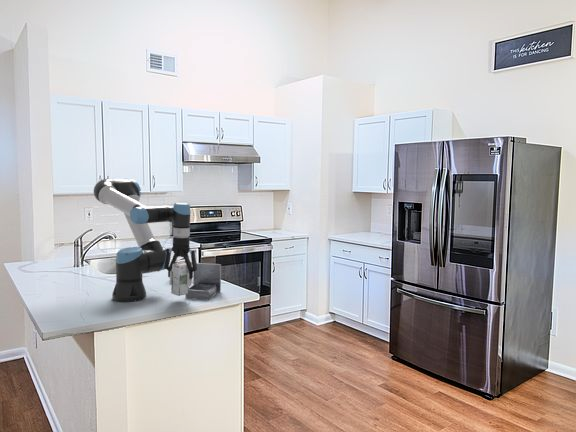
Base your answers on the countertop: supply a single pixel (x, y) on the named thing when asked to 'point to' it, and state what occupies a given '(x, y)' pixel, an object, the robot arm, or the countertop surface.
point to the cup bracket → (205, 281)
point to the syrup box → (179, 279)
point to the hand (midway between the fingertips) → (180, 284)
